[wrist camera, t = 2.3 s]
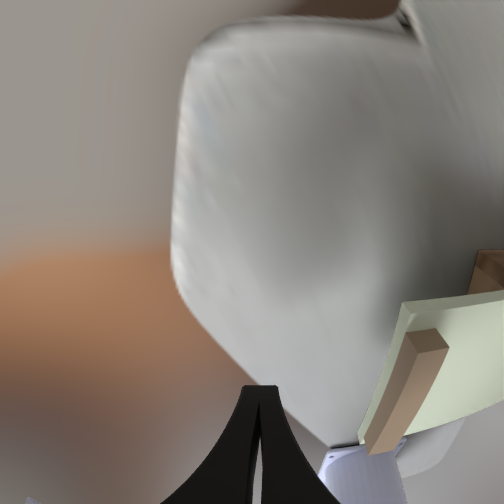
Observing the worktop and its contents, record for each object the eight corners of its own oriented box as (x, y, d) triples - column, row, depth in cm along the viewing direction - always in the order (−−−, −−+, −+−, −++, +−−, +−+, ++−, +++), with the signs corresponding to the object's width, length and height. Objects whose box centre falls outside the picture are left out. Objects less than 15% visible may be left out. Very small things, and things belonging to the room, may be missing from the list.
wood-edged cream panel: (529, 377, 11) (540, 392, 9) (357, 433, 12) (363, 462, 10) (574, 276, 8) (591, 289, 6) (402, 301, 9) (424, 334, 7)
